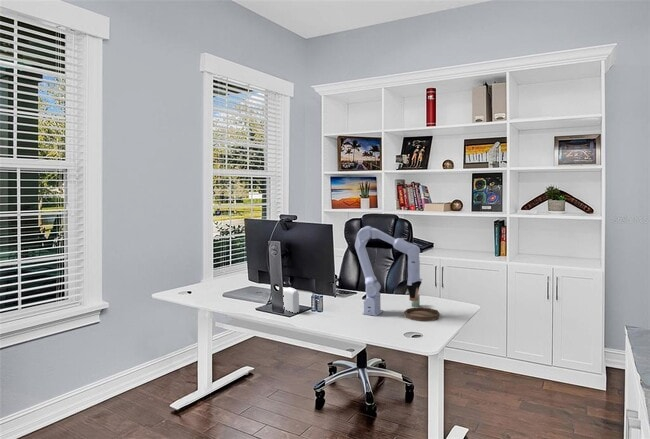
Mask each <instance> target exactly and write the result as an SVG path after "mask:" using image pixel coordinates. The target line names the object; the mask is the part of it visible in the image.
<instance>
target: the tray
mask: <svg viewBox="0 0 650 439" xmlns="http://www.w3.org/2000/svg"><path fill="white" fill-rule="evenodd" d="M404 316H405V318H406V319H408V320H411V321H412V320H413V321H418V322H419V321H420V322H431V321H436V320H439V318H440V312H439V310H438V309H434V308H430V307H424V306H423V307H422V306H421V307H409V308H406V310H404Z"/></svg>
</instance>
